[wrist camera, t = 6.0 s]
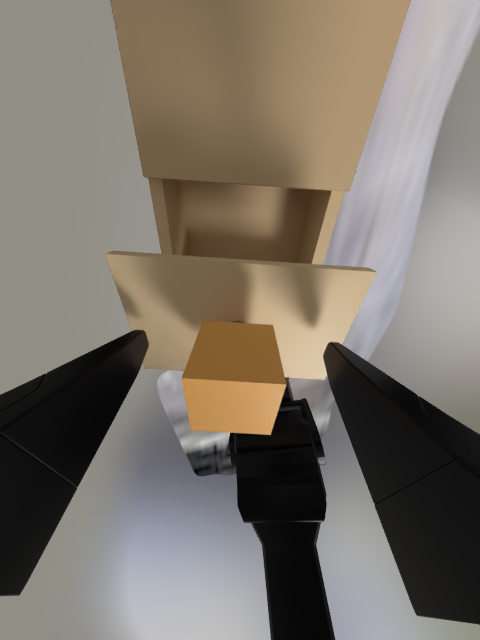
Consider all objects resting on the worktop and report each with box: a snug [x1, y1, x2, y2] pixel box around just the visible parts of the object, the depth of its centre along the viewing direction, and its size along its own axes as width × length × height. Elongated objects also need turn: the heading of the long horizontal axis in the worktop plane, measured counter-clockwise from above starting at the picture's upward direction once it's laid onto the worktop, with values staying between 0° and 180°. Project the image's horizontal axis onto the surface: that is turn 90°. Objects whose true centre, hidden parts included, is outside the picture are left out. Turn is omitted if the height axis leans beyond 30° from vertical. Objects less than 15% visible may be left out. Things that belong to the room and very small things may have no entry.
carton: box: [110, 0, 411, 265], centre depth 13 cm, size 15×12×6 cm
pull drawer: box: [105, 251, 377, 435], centre depth 8 cm, size 7×12×5 cm, turn 87°
